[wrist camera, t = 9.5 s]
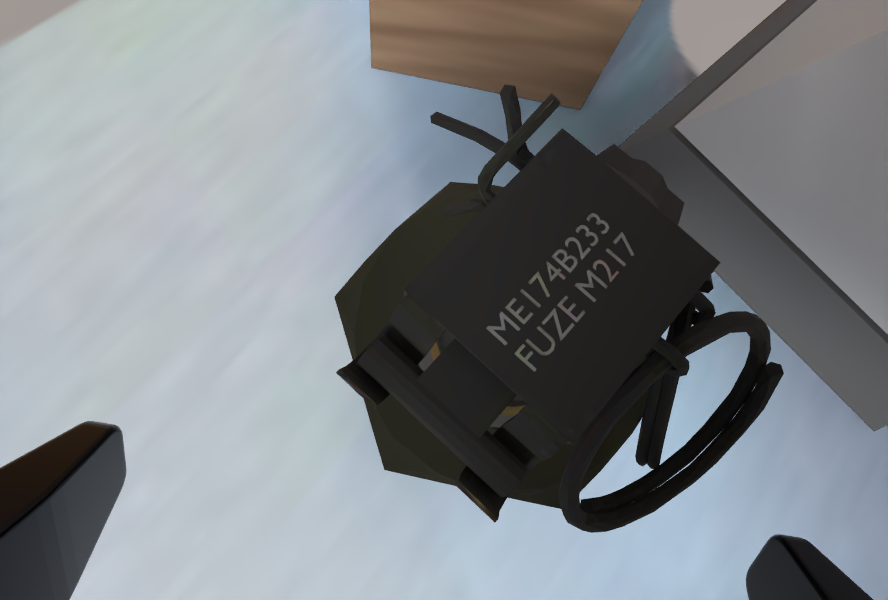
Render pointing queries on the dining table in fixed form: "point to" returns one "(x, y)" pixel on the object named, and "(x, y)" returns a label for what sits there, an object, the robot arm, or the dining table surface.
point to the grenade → (543, 331)
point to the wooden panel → (501, 43)
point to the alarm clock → (794, 184)
